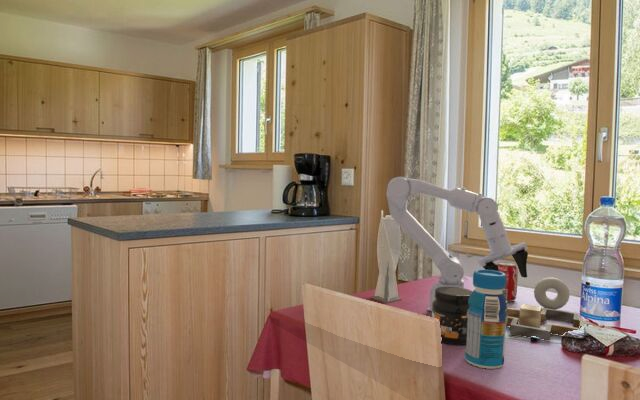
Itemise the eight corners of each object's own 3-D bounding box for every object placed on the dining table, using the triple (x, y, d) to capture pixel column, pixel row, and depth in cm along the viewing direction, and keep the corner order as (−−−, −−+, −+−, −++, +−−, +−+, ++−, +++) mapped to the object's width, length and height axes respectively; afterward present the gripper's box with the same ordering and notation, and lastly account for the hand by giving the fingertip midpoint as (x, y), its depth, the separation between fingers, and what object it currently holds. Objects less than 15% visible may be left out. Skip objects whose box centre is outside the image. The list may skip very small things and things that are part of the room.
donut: (533, 308, 154) (535, 276, 154) (532, 306, 158) (534, 274, 157) (569, 313, 151) (571, 280, 150) (567, 310, 154) (569, 278, 154)
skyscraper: (367, 296, 161) (371, 209, 159) (384, 293, 166) (388, 209, 164) (386, 303, 155) (391, 212, 153) (404, 299, 160) (408, 211, 158)
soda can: (512, 297, 167) (515, 261, 166) (518, 303, 160) (521, 266, 159) (490, 296, 168) (493, 260, 167) (496, 301, 161) (498, 264, 160)
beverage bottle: (456, 361, 110) (462, 271, 109) (475, 352, 116) (481, 266, 115) (493, 373, 104) (499, 278, 103) (511, 363, 110) (517, 273, 109)
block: (518, 326, 137) (520, 308, 137) (521, 321, 141) (522, 303, 141) (538, 329, 135) (539, 311, 134) (540, 324, 139) (541, 306, 139)
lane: (488, 330, 132) (489, 317, 132) (501, 309, 152) (502, 298, 152) (583, 347, 122) (584, 333, 121) (584, 322, 142) (585, 310, 142)
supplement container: (422, 337, 125) (424, 290, 124) (443, 328, 132) (446, 283, 131) (460, 349, 118) (463, 299, 117) (481, 339, 125) (484, 291, 124)
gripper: (479, 245, 139) (496, 292, 139) (526, 228, 141) (542, 274, 141) (469, 244, 146) (485, 289, 146) (513, 228, 148) (529, 271, 148)
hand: (512, 281), depth 144 cm, fingers open, 7 cm apart
